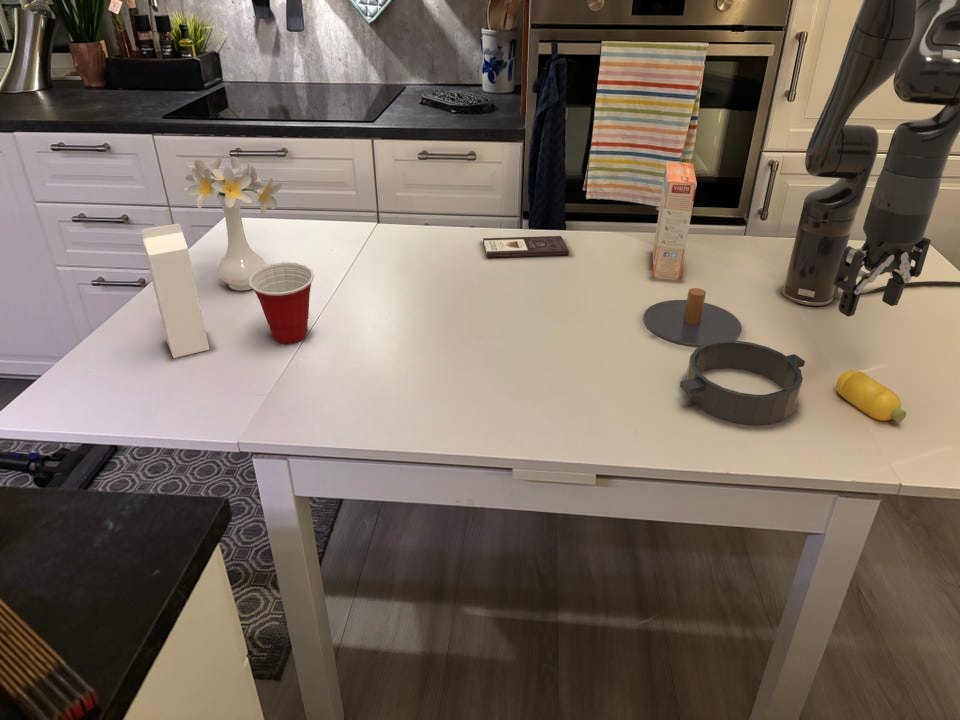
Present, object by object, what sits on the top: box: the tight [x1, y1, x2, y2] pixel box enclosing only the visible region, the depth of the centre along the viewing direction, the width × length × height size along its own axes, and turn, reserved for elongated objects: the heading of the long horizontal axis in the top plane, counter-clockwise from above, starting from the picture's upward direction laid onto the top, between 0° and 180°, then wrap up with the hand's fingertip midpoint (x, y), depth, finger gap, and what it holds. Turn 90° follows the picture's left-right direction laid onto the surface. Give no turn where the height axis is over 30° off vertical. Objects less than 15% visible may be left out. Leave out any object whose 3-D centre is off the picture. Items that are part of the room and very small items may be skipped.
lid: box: [643, 287, 743, 348], centre depth 134 cm, size 17×17×7 cm
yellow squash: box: [835, 369, 907, 423], centre depth 112 cm, size 11×5×5 cm, turn 22°
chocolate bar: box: [482, 235, 570, 259], centre depth 166 cm, size 9×1×18 cm
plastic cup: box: [249, 261, 315, 345], centre depth 128 cm, size 11×11×12 cm
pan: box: [679, 340, 806, 426], centre depth 115 cm, size 16×22×6 cm
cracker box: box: [652, 161, 698, 280], centre depth 153 cm, size 14×6×21 cm, turn 168°
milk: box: [140, 223, 210, 359], centre depth 122 cm, size 6×6×22 cm
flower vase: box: [185, 156, 283, 292], centre depth 143 cm, size 13×18×25 cm
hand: (867, 308), depth 108 cm, fingers open, 8 cm apart
